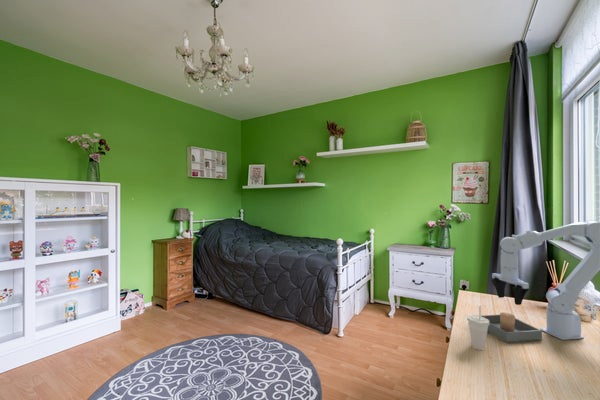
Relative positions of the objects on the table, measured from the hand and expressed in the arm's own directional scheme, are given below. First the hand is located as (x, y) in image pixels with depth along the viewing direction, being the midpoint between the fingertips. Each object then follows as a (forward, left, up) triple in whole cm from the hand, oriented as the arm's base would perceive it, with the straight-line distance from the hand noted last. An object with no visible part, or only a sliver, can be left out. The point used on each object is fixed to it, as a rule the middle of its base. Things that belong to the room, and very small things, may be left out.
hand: (509, 300), depth 109 cm
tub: (+7, +6, -9) cm, 13 cm away
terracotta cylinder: (+7, +6, -9) cm, 13 cm away
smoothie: (+26, +14, -10) cm, 31 cm away
